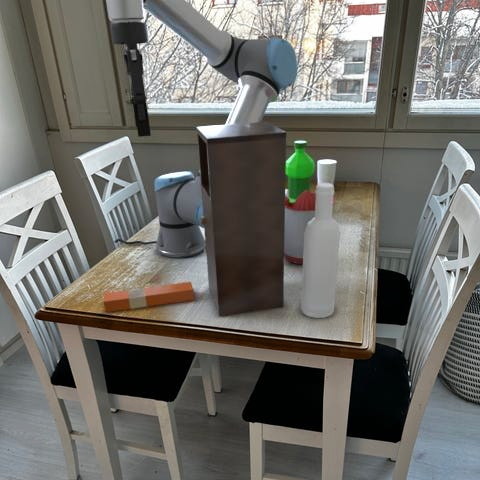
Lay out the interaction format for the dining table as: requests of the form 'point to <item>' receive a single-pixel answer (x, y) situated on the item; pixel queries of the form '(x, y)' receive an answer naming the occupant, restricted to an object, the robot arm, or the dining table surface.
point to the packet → (148, 296)
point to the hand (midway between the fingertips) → (143, 131)
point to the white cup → (326, 171)
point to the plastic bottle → (299, 171)
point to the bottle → (320, 257)
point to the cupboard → (243, 214)
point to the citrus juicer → (298, 224)
